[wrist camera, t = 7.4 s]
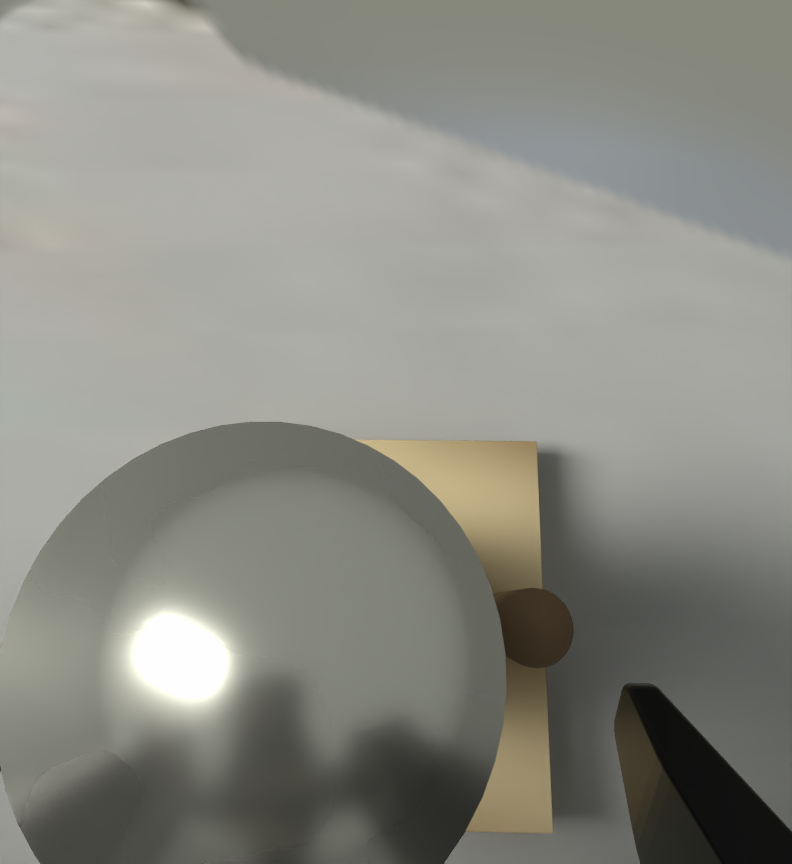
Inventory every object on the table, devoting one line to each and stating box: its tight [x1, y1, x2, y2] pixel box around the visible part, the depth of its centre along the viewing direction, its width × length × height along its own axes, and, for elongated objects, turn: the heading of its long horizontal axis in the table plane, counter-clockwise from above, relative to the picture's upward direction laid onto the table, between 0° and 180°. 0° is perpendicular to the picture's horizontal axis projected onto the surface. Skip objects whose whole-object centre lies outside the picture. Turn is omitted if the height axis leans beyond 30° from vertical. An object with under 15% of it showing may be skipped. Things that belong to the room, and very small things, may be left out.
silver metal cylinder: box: [0, 422, 507, 864], centre depth 12 cm, size 5×5×12 cm
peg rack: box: [356, 440, 573, 834], centre depth 16 cm, size 10×10×5 cm
